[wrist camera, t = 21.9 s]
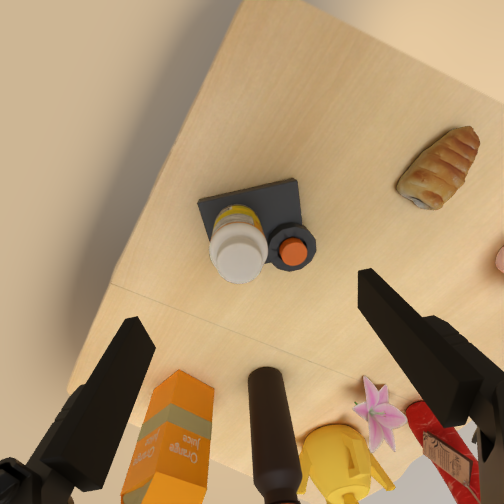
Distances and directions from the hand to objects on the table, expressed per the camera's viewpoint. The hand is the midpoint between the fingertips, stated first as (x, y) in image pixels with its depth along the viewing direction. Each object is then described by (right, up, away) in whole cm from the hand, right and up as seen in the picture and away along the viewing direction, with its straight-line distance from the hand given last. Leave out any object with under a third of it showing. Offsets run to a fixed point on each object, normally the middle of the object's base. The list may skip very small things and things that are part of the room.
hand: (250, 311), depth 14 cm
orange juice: (-13, -23, +31) cm, 41 cm away
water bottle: (+38, -32, +39) cm, 63 cm away
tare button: (+5, +4, +15) cm, 17 cm away
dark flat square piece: (0, +7, +17) cm, 18 cm away
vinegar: (+3, -21, +31) cm, 38 cm away
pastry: (+22, +14, +16) cm, 31 cm away
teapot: (+19, -43, +43) cm, 64 cm away
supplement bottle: (-2, +7, +15) cm, 17 cm away
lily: (+25, -26, +35) cm, 50 cm away
